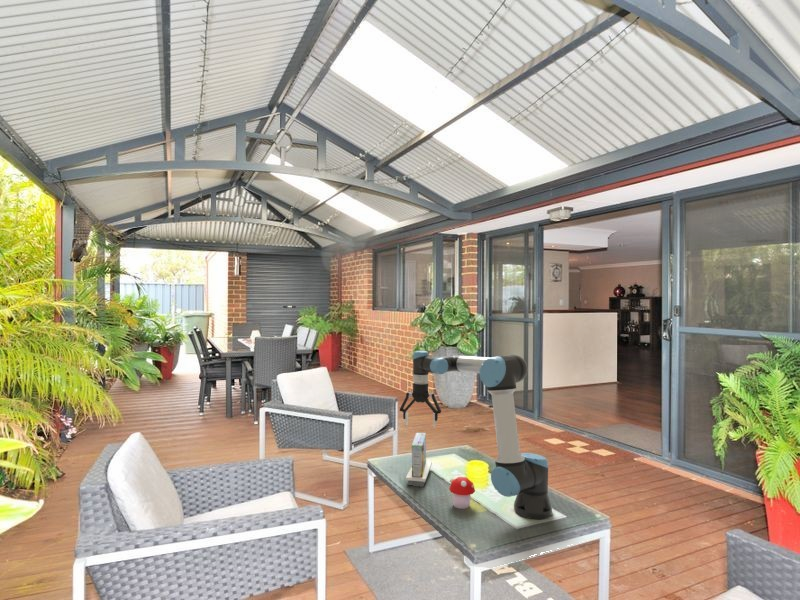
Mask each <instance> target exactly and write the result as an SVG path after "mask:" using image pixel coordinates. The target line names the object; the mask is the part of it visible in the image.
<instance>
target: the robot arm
mask: <svg viewBox="0 0 800 600" xmlns="http://www.w3.org/2000/svg"><path fill="white" fill-rule="evenodd" d="M412 355H413V356H412V382H413V384H412V392H410V391H407V392H406V395H405V398H404V400H403V402H402V404H401V406H400V407H399V411H400V412H402V413H403V414H402V417H403V420H404V421H405V422H404V423H405V424H404V425H405V427H408V425H409V424H408V423H409V411H408V410H409V409H410V408H411V406H412V405H413V404H414V403H415V402H416V403H425V404H426V405H427V406H428V407H429V409H430V410H431V411H432V413H433V414H432V419H433V420H432V428H433V429H435V428H436V422H437V421H438V417H439V416H438V415H439V414H441V413H442V409H441V407H440V404H439V403H438V401H437V398H436V394H435V392H432V393H429V376H430V375H429V373H431V374H435V375H444V374H445V373H448V372H463V373H470V374H473V373H474V374H479V379H480V381H481V382H482V384H483V385H484V386H485V387H486V390H487V392H488V393H489V394H490V395H491V401H492V409H493V410H492V411H493V412H492V413H493V419H494V429H495V436H496V439H495V440H496V444H497V455H498V456H496V458H494V461H495V462H494V464H495V467H494V468H493V469H492V471H491V474H490V480H491V483H492V486H493V488H494V489H495V490H496V491H497V493H498V494H500V495H502V496H503V497H505V498H506V497H507V498H509V497H515V500H514V501H513V502H514V503H513V511H514V512H515V513H516V514H517V515H520V516H522V517H523V518H528V519H533V520H544V519H548V518H550V517H552V514H553V507H552V503H551V501H550V498H549V494H548V493H549V492H548V491H549V468H550V467H549V460H548V459H547V458H546V457H545V456H544V455H540V454H536V453H532V452H521V450H520V439H519V433H518V432H519V431H518V424H517V414H516V408H515V406H516V405H515V398H514V393H515V392H516V390H517V383H520V382H521V381H523V380H524V379H525V378H526V377H527V375H528V371H529V369H528V364H527V362H526V360H525V359H524V358H523V357H521V356H520V355H515V354H508V355H497V356H496V355H495V356H492V357H489V356H471V355H470V356H469V355H462V354H455V355H444V356H429V355H430V354H429V351H427V350H415V351H414V352H413V354H412ZM410 397H412V398H413V399H412V400H411V401H410V403H409V404H408V405H407V406H406V407H405V405H406V404H407V402H408V400H409V399H410ZM429 397H430V398H431V400H432V402H433V404H434V405H433V404H432V402H431V401H430V400H429ZM434 406H435V407H434Z"/></svg>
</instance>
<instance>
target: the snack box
mask: <svg viewBox="0 0 800 600" xmlns="http://www.w3.org/2000/svg"><path fill="white" fill-rule="evenodd" d="M426 462H427V433H426V432H416V433H415V435H414V437H413V441H412V444H411V466H412V477H423V472H424V468H425V464H426Z"/></svg>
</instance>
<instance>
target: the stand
mask: <svg viewBox="0 0 800 600" xmlns="http://www.w3.org/2000/svg"><path fill="white" fill-rule="evenodd" d="M432 465H433V462H432V461H426V464H425V468H424V472H423V477H412V465H411V467H410V468H409V470H408V473H407V475H406V477H405V481H408V483H407V485H413V486H412V487H419V486H420V487H421V488H424V486H425V484H426V482H427V478H428V475H429V472H430V470H431V468H432Z"/></svg>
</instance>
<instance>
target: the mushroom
mask: <svg viewBox="0 0 800 600" xmlns="http://www.w3.org/2000/svg"><path fill="white" fill-rule="evenodd" d="M449 483H450V486H449V491H450V492H451V493H452V496H451V497H452V503H453V507H454V508H457V509H460V510H466V509H468V508H469V507H470V505H471V504H470V503H471V495H473V494H474V493H475V492H476V489H475V485H474V483H473V481H472V480H470V479H469V478H468V477H465V476H457V477H456V478H454V477H450V479H449Z"/></svg>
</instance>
